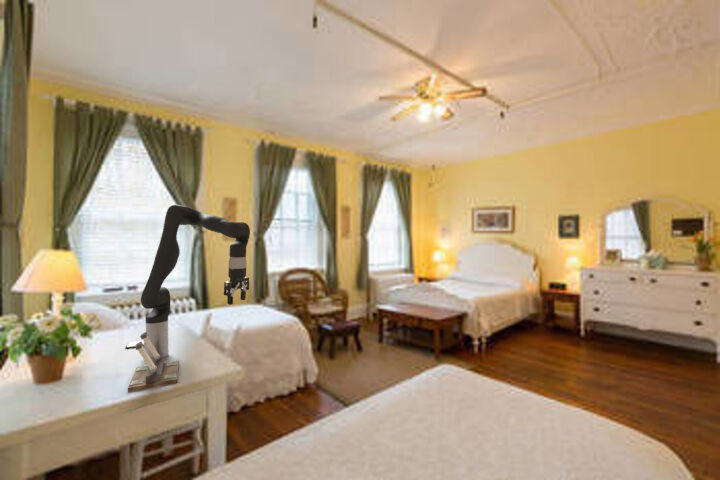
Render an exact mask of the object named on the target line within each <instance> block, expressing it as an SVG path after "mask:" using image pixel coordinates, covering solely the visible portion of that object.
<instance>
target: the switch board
mask: <svg viewBox="0 0 720 480" xmlns="http://www.w3.org/2000/svg"><path fill="white" fill-rule="evenodd" d="M151 360H152V361H153V363H154V364H155V366H156V367H157V369H156V372H155V373H151V370H150V368H149V367H148V365H145V366H138V367H136V368H135V370H134V373H133V374H132V378H131V379H130V381H129V384H128V387H127V392H128V393H131V392H134V391H135V392H136V391H140V390H141V391H142V390H146V389H151V388H152V389H153V388H157V387H162V386H167V385H172V384H177V383H178V379H179V378H178V377H179V368H180V360H174V361H168V362H166V361H165V360H166V357H163V358H159V360H158V361H156V360H155V359H151Z"/></svg>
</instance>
